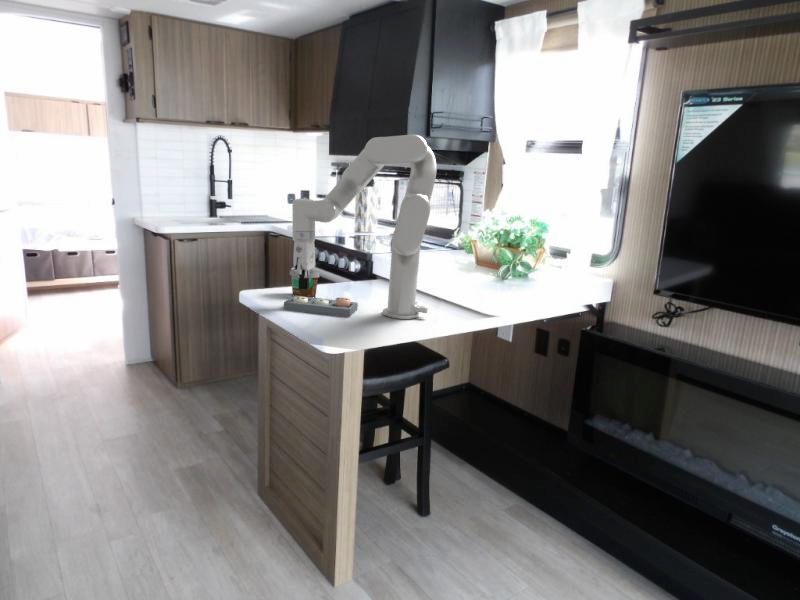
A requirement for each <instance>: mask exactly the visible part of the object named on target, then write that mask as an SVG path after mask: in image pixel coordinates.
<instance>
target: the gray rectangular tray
mask: <svg viewBox="0 0 800 600" xmlns="http://www.w3.org/2000/svg"><path fill="white" fill-rule="evenodd" d="M294 297H304V296H296V295H295V296H293V295H292V297H290V298H288V299H287V300H285V301H284V302H283V310H284V309H285V310H286V311H293V310H294V311H293V312H301V311H303V312H304V313H309V312H310V313H309V314H318V313H320V314H319V315H326V314H328V315H329V316H335V315H337V317H343V316H344V317H345V318H350V317H352V315H354V314H355V313H356V312H357V311H358V306H359V303H358V302H355V301H350V307H349V308H347V307H339V306H335V301H336V299H329V298H324V299H325V300H328V301H329V304H328V305H321V304H314V300H316V299H323V298H322V297H314V298H313V297H306V298H308V302H307V303H304V302H296V301H293V298H294ZM285 310H284V311H285ZM355 311H356V312H355ZM328 315H327V316H328Z"/></svg>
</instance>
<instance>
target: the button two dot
mask: <svg viewBox="0 0 800 600" xmlns="http://www.w3.org/2000/svg"><path fill="white" fill-rule="evenodd" d="M293 301H296V302H304V303H307V302H308V298H306V297H294V298H293Z"/></svg>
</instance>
